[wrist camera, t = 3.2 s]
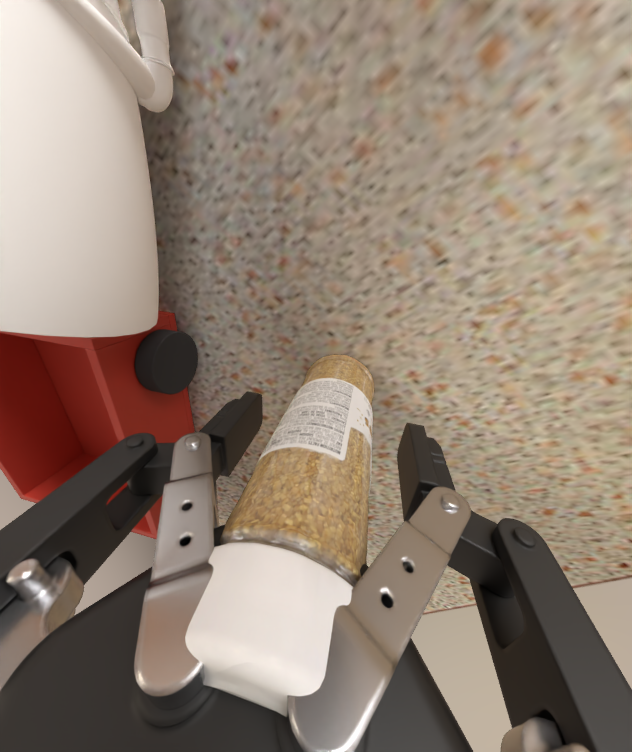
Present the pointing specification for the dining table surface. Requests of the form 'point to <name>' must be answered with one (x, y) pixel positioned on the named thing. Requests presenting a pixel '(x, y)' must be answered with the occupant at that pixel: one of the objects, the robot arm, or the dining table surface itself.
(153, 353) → the cart wheels
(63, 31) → the rocket engine
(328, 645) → the sprinkles bottle
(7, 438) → the cart
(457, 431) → the dining table surface
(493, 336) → the dining table surface
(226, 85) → the dining table surface
